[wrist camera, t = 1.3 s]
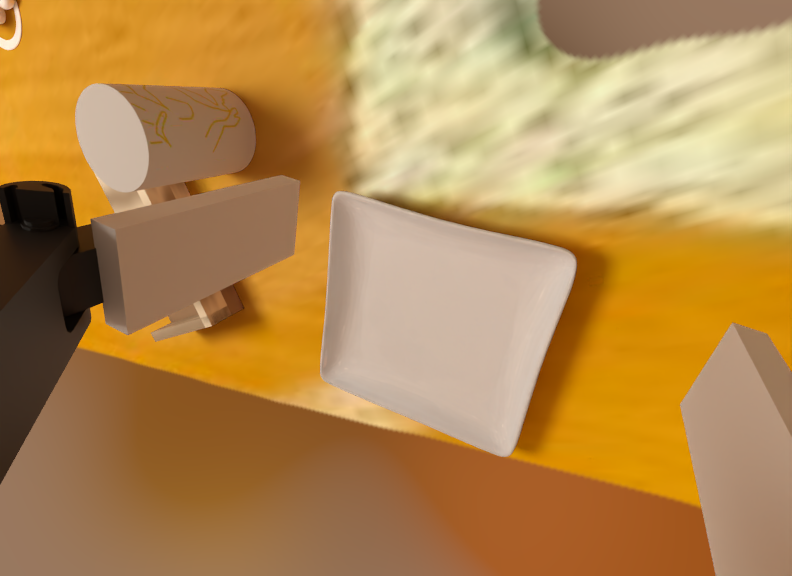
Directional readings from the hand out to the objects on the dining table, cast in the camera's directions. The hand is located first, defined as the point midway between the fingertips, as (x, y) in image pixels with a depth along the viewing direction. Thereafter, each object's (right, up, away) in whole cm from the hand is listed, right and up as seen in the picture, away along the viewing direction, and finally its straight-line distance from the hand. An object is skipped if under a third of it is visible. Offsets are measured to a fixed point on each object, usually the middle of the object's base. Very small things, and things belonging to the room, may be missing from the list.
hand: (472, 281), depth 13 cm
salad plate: (+2, -3, +29) cm, 30 cm away
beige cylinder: (-20, +16, +32) cm, 40 cm away
